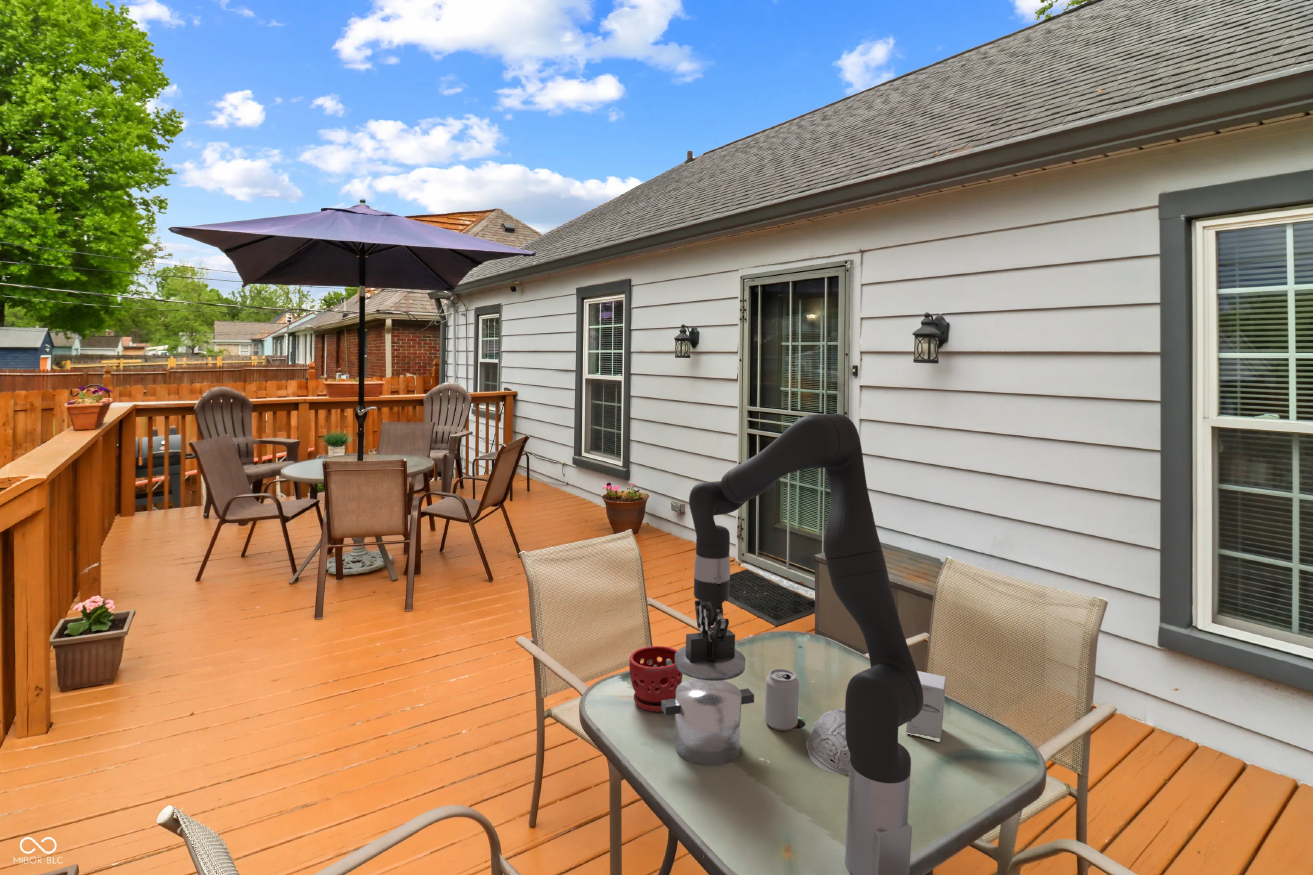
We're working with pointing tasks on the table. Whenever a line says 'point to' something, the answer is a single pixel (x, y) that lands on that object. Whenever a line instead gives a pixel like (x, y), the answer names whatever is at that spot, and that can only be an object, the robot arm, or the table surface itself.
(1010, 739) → the table surface
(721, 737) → the cooker
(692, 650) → the lid
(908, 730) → the supplement box
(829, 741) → the grey oval domed piece
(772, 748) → the table surface
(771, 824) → the table surface
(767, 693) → the can
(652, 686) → the plant pot
